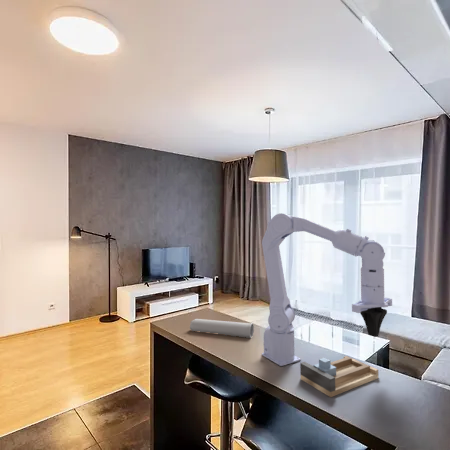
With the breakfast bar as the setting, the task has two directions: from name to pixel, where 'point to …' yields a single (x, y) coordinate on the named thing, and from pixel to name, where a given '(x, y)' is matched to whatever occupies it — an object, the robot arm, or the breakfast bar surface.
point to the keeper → (326, 366)
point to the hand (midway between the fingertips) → (373, 335)
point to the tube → (223, 327)
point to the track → (338, 376)
